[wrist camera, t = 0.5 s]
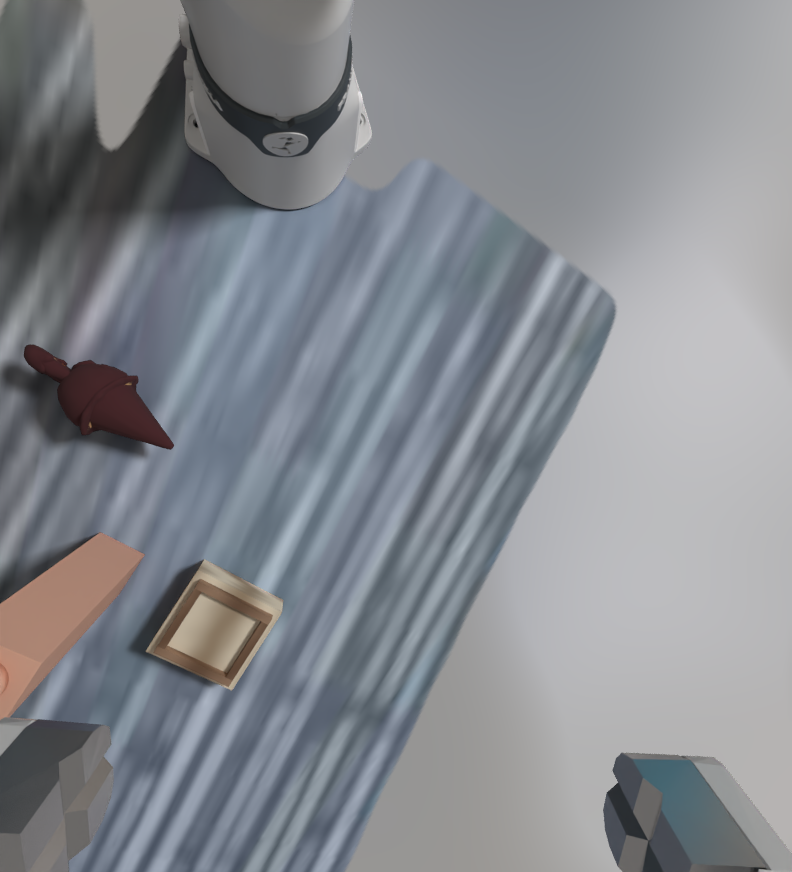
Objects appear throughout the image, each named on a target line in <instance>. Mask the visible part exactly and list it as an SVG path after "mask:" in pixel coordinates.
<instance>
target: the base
mask: <svg viewBox="0 0 792 872" xmlns="http://www.w3.org/2000/svg"><path fill="white" fill-rule="evenodd" d="M282 607H283V600H282V599H280V598H278V597H276V596H274V595H272V594H270V593H268V592H267V591H265V590H263V589H261V588H259V587H257V586H255V585H253V584H251V583H249V582H247V581H245V580H243V579H241V578H239V577H237V576H236V575H234V574H232V573H230V572H228V571H226V570H224V569H222V568H220V567H218V566H216V565H214V564H212V563H210V562H208V561H206V560H205V559H204V561H203V562H202V564H201V565H200V567H199V568H198V570H197V571H196V573H195V575H194V576H193V578H192V579H191V581H190V582H189V584H188V585H187V587H186V589H185V590H184V592H183V593H182V595H181V596H180V598H179V599H178V601H177V602H176V604H175V606H174V607H173V609H172V610H171V612H170V613H169V615H168V616H167V618H166V619H165V621H164V623H163V624H162V626H161V627H160V629H159V630H158V632H157V633H156V635H155V637H154V638H153V640H152V642H151V643H150V645H149V647H148V648H147V650H146V652H148V653H150V654H153V655H155V656H157V657H159V658H161V659H164V660H166V661H168V662H170V663H172V664H175V665H177V666H179V667H181V668H183V669H186V670H188V671H190V672H192V673H194V674H197V675H199V676H201V677H203V678H206V679H208V680H210V681H212V682H214V683H217V684H219V685H221V686H223V687H225V688H228V689H230V690H233V688H234V687H235V685H236V683H237V682H238V680H239V679H240V677H241V676H242V674H243V672H244V671H245V669H246V668H247V666H248V665H249V663H250V662H251V660H252V658H253V657H254V655H255V654H256V652H257V651H258V649H259V648H260V646H261V644H262V643H263V641H264V640H265V638H266V637H267V635H268V633H269V632H270V630H271V629H272V627H273V626H274V624H275V623H276V621H277V619H278V618H279V616H280V615H281V613H282Z"/></svg>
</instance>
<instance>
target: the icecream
mask: <svg viewBox="0 0 792 872" xmlns="http://www.w3.org/2000/svg"><path fill="white" fill-rule="evenodd" d="M24 358H25V360H26V361H27V363H28V364H29V365H30V366H31V367H33V368H34V369H35V370H36V371H38V372H40V373H42V374H46V375H48V376H50V377H52V378H53V380H55V381H57V382H59V383H60V385H59V387H58V389H57V392H58V399H59V402H60V404H61V407H62V409H63V411H64V412H65V414H66V416H67V418H68V419H69V420H71V421H72V422H73V423H74V424H75V425H76V426H79V427H80V430H81V434H82V435H89V434H91V433H92V432H94V431H98V430H103V431H106V432H110V433H113V434H117V435H121V436H124V437H128V438H131V439H135V440H138V441H142V442H145V443H149V444H152V445H155V446H159V447H162V448H166V449H170V450H171V449H172V448H173V447H174V444H173V443H172V441H171V440H170V438H169V437H168V436H167V434H166V433H165V431H164V430H163V429H162V427H161V426H160V425H159V423H158V422H157V420H156V419H155V418H154V416H153V415H152V413H151V412H150V411H149V409H148V408H147V406H146V405H145V404H144V402H143V401H142V399H141V398H140V397H139V395H138V394H137V392H136V384H137V383H138V376H128V375H127V374H126V373H125V372H123V371H121V370H119V369H117V368H115V367H111V366H107V365H104V364H101V365H100V364H96V363H94V362H93V361H91V360H89V361H83V362H79V363H77V364H75V365H74V366H73V367H72V369H70V368H68V367H67V363H66V362H65V361H64V360H61V359H58V358H56V357H54V356H53V355H52V354H50V353H49V352H47V351H46V350H44V349H42V348H40V347H38V346H36V345H27V346H26V347H25V350H24Z"/></svg>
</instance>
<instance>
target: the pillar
mask: <svg viewBox="0 0 792 872" xmlns="http://www.w3.org/2000/svg"><path fill="white" fill-rule="evenodd" d="M144 555H145V554H143V553H141V552H139V551H137V550H135V549H133V548H131V547H129V546H127V545H125V544H123V543H121V542H119V541H117V540H115V539H113V538H111V537H109V536H107V535H105V534H103V533H101V532H100V533H99V534H97V535H96V536H94V537H93V538H92V539H90V540H89V541H87V542H86V543H85V544H83V545H82V546H80V547H79V548H78V549H76V550H75V551H73V552H72V553H71V554H69V555H68V556H66V557H65V558H64V559H62V560H61V561H59V562H58V563H57V564H55V565H54V566H52V567H51V568H50V569H48V570H47V571H46V572H44V573H43V574H41V575H40V576H39V577H37V578H36V579H34V580H33V581H32V582H30V583H29V584H27V585H26V586H25V587H23V588H22V589H20V590H19V591H18V592H16V593H15V594H13V595H12V596H11V597H9V598H8V599H6V600H5V601H4V602H2V603H1V604H0V720H1V719H3V718H4V717H8V718H9V717H10V716H11V715H12V714H13V713H14V712H15V710H16V709H17V708H18V707H19V706H20V705H21V704H22V703H23V701H24V700H25V699H26V698H27V697H28V696H29V695H30V694H31V693H32V691H33V690H34V689H35V688H36V687H37V686H38V685H39V684H40V682H41V681H42V680H43V679H44V678H45V677H46V676H47V675H48V673H49V672H50V671H51V670H52V669H53V668H54V667H55V666H56V664H57V663H58V662H59V661H60V660H61V659H62V658H63V657H64V655H65V654H66V653H67V652H68V651H69V650H70V649H71V648H72V647H73V645H74V644H75V643H76V642H77V641H78V640H79V639H80V638H81V636H82V635H83V634H84V633H85V632H86V631H87V630H88V629H89V627H90V626H91V625H92V624H93V623H94V622H95V621H96V620H97V618H98V617H99V616H100V615H101V614H102V613H103V612H104V611H105V609H106V608H107V607H108V606H109V605H110V604H111V603H112V602H113V600H114V599H115V598H116V597H117V596H118V595H119V594H120V592H121V591H122V589H123V588H124V586H125V584H126V583H127V581H128V580H129V578H130V577H131V575H132V574H133V572H134V571H135V569H136V568H137V566H138V564H139V563H140V561H141V560H142V558H143V557H144Z"/></svg>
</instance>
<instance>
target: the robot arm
mask: <svg viewBox="0 0 792 872" xmlns="http://www.w3.org/2000/svg"><path fill="white" fill-rule="evenodd" d="M181 3H182V5H183V8H184V11H185V13H186V15H184V14H182V15H180V16H179V31H180V38H181V42H182V45H183V46H184V47H185V48H187V60H184V73H185V77H186V96H185V126H184V134H185V139H186V142H187V144H188V146H189V147H190V148H191V149H192V150H193V151H194V152H195V153H197V154H198V155H200V156H201V157H203V158H205V159H207V160H208V161H210V162H212V163H214V164H215V165H216V166H217V167H218V168H219V169H220V171H221V172H222V173H223V174H224V175H225V177H226V178H227V179H228V180H229V181H230V183H231V184H232V185H233V186H234V187H235V188H236V189H238V190H239V191H240V192H241V193H243V194H244V195H245V196H247V197H248V198H250V199H252V200H254V201H256V202H258V203H260V204H263V205H265V206H269V207H272V208H277V209H299V208H304V207H308V206H311V205H313V204H316V203H318V202H320V201H321V200H323V199H324V198H326V197H327V196H328V195H330V194H331V193H332V192H333V191H334V190H335V189H336V187H337V186H338V185H339V183H340V182H341V180H342V179H343V177H344V175H345V173H346V171H347V169H348V167H349V165H350V163H351V162H352V160H353V159H354V158H355V157H357V156H358V155H359V154H361V153H362V152H363V151H364V150H365V149H366V148H367V147H368V146H369V145H370V143H371V137H372V131H371V127H370V123H369V120H368V116H367V113H366V110H365V106H364V103H363V99H362V94H361V92H360V89H359V86H358V82H357V79H356V76H355V72H354V69H353V66H352V64H353V63H352V42H351V37H350V29H351V20H352V13H353V5H354V0H181ZM196 123H197V124H198V128H196V127H195V124H196ZM360 124H361V125H360ZM110 745H111V736H110V728H109V727H108V726H105V725H99V724H87V723H75V722H63V721H52V720H40V719H38V720H34V719H21V718H8V717H4V718H3V719H1V720H0V872H69V860H70V859H72V858H73V857H74V856H75V855H76V854H78V853H79V852H80V851H81V850H83V849H84V848H85V847H86V846H88V845H89V844H90V843H91V841H92V839H93V837H94V835H95V833H96V832H97V830H98V828H99V826H100V824H101V822H102V820H103V817H104V815H105V812H106V809H107V806H108V804H109V801H110V798H111V793H112V787H113V780H114V779H113V767H112V766H111V764H110V763H109V762H108V761H107V760H106V759H105V758H104V757H103V756H104V755H105V753H106V752H107V750H108V748H109V747H110ZM613 773H614V775H615V777H616V779H617V781H618V783H617V784H616V785H615V786H614V787H613V788H612V789H611V790H609V791H608V792H607V794H606V799H605V804H604V809H603V811H604V822H605V831H606V835H607V838H608V842H609V846H610V848H611V851H612V853H613V856H614V858H615V861H616V863H617V866H618V867H619V868H620V869H621V870H622V871H623V872H792V853H791V852H790V850H789V849H788V848H787V846H786V845H785V844H784V843H783V841H782V840H781V839H780V837H779V836H778V835H777V833H776V832H775V831H774V830H773V828H772V827H771V826H770V824H769V823H768V822H767V820H766V819H765V818H764V817H763V816H762V814H761V813H760V811H759V810H758V809H757V808H756V806H755V805H754V804H753V802H752V801H751V800H750V798H749V797H748V796H747V795H746V793H745V792H744V791H743V789H742V788H741V787H740V785H739V784H738V783H737V782H736V780H735V779H734V778H733V776H732V775H731V774H730V772H729V771H728V770H727V769H726V767H725V766H724V765H723V764H722V763H721V762H719V761H718V760H716V759H715V758H714V757H700V756H679V755H665V754H663V755H662V754H639V753H621V754H620V755H619V756H618V757H617V758H616V761H615V764H614V768H613Z"/></svg>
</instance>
